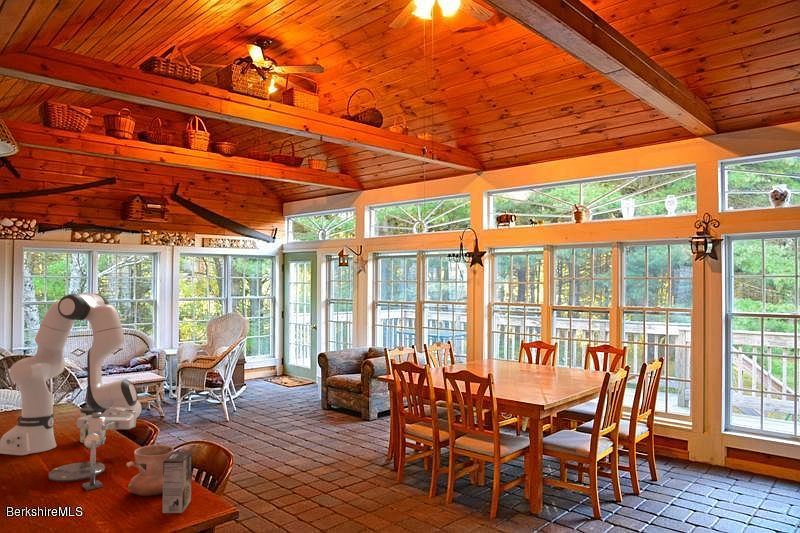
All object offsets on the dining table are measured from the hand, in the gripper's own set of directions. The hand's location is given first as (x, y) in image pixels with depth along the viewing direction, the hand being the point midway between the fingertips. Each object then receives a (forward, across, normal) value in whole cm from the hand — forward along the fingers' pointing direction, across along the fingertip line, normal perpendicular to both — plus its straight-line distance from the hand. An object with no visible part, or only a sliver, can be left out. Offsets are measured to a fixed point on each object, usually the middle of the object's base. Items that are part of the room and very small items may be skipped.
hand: (95, 427), depth 208 cm
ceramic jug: (+18, +31, +16) cm, 39 cm away
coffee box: (+31, +44, +16) cm, 56 cm away
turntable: (+2, -5, +16) cm, 17 cm away
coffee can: (-40, -23, +17) cm, 49 cm away
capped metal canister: (-1, 0, +6) cm, 6 cm away
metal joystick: (+15, +8, +16) cm, 23 cm away
